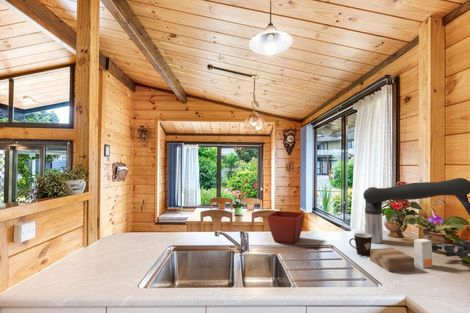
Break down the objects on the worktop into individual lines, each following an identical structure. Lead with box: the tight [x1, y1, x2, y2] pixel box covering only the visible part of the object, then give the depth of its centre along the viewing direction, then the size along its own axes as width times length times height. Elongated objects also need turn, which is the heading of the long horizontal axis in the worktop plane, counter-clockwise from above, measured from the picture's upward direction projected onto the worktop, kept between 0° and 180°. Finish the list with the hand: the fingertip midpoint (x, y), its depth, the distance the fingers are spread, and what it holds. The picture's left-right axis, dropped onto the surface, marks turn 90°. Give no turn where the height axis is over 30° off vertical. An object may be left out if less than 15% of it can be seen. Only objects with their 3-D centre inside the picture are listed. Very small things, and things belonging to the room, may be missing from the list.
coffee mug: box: [348, 232, 372, 257], centre depth 140 cm, size 12×9×10 cm
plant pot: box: [266, 210, 305, 245], centre depth 167 cm, size 19×19×17 cm
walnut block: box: [369, 247, 416, 273], centre depth 123 cm, size 14×12×6 cm
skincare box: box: [413, 238, 433, 269], centre depth 122 cm, size 6×4×12 cm
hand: (437, 250), depth 123 cm, fingers open, 8 cm apart
